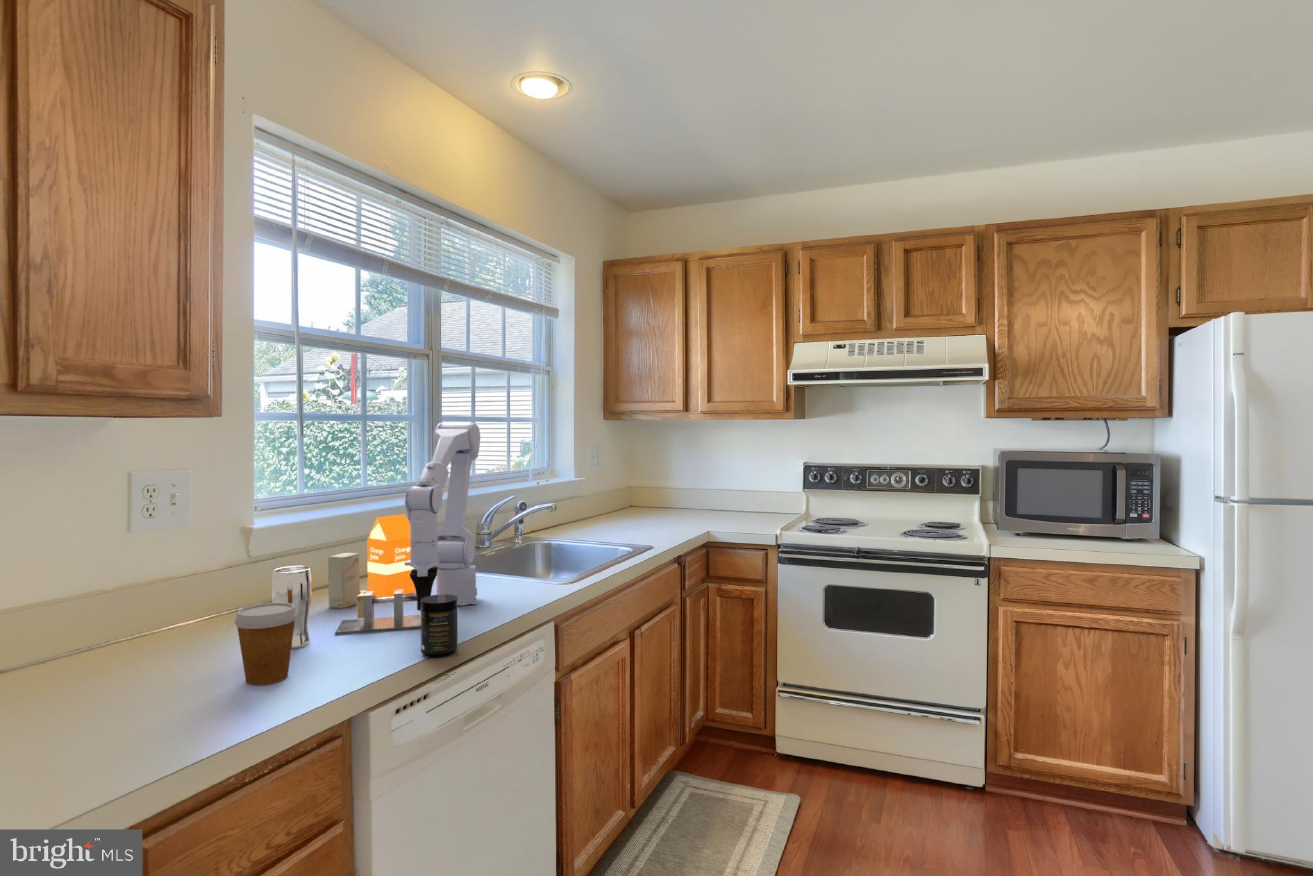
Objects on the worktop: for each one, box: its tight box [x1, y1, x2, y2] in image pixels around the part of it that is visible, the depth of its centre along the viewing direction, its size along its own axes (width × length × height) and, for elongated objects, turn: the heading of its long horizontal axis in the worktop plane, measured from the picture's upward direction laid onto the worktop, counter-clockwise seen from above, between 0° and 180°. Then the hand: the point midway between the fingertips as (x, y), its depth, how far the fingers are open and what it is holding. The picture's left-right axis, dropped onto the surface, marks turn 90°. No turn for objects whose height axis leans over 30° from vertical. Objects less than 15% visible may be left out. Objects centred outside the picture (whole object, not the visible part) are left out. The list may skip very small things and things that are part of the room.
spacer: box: [356, 589, 367, 619], centre depth 149 cm, size 1×5×5 cm, turn 16°
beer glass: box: [271, 565, 313, 650], centre depth 137 cm, size 7×7×15 cm
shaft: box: [355, 595, 421, 612], centre depth 150 cm, size 15×2×6 cm, turn 106°
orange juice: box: [366, 513, 416, 598], centre depth 178 cm, size 8×9×20 cm
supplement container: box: [420, 594, 459, 659], centre depth 132 cm, size 7×7×10 cm
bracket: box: [334, 589, 421, 636], centre depth 150 cm, size 18×9×7 cm, turn 106°
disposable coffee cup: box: [233, 602, 298, 686], centre depth 119 cm, size 10×10×12 cm
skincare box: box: [327, 552, 361, 609], centre depth 167 cm, size 6×4×12 cm
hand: (424, 602), depth 152 cm, fingers closed on shaft, 2 cm apart
